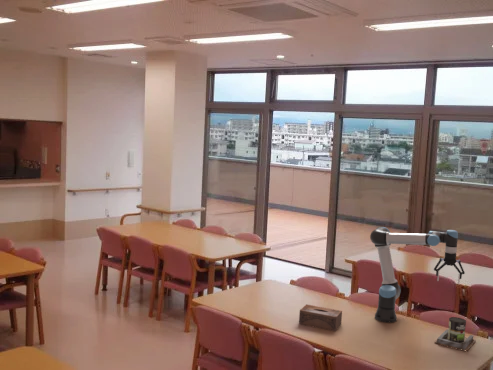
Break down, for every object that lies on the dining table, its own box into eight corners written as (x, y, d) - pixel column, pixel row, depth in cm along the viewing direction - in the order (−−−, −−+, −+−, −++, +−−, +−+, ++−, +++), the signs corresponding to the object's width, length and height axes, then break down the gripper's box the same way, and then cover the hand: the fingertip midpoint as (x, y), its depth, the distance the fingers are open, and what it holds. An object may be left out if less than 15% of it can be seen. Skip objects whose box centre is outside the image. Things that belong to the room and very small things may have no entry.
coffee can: (467, 343, 344) (469, 322, 343) (453, 344, 342) (455, 322, 340) (457, 337, 354) (459, 316, 353) (443, 338, 352) (445, 317, 350)
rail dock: (434, 343, 345) (434, 338, 344) (444, 333, 363) (444, 328, 362) (467, 351, 333) (467, 346, 333) (475, 341, 351) (475, 336, 351)
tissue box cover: (298, 324, 369) (299, 310, 368) (305, 318, 382) (306, 304, 381) (335, 331, 358) (336, 317, 357) (341, 324, 371) (342, 310, 370)
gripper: (469, 253, 375) (467, 283, 377) (431, 249, 383) (429, 278, 385) (470, 255, 368) (467, 285, 370) (431, 251, 376) (429, 280, 378)
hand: (448, 282), depth 378 cm, fingers open, 13 cm apart
